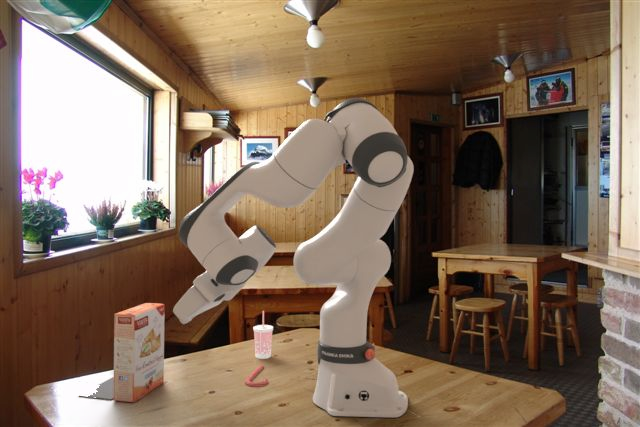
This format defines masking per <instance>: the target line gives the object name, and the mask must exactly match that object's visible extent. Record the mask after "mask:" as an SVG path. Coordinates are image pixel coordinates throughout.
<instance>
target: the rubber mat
mask: <svg viewBox="0 0 640 427" xmlns="http://www.w3.org/2000/svg"><path fill="white" fill-rule="evenodd" d="M98 385H100V386H99V388H97V389H96V390H97V391H98V392H96V394H95V393H93V395H90V396H88V397H96V398H100V399H99V400H104V399H106V401H114V376H112V377H110V378H109V379H107V380H105V381H103V382H101V383H99V384H98Z"/></svg>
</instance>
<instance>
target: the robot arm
mask: <svg viewBox="0 0 640 427" xmlns="http://www.w3.org/2000/svg"><path fill="white" fill-rule="evenodd" d="M346 160H347V162H348V164H349V165H350V166H351V167H352V169H353V172H354V173H355V174H356V176H357V178H356V180H355V182H354V183H353V185H352V188H351V190H350V193H348V196H347V198H346V200H345V202H344V204H343V206H342V208H341V209H340V211H339V212H338V213H337V215H336V216H335V217H334V218H333V219H332V220H331V222H330V223H328V224H327V225H326V226H325V227H324V228H323V229H322V230H320V232H318V233H317V234H316V235H314V236H313V237H311V238H309V239H308V240H306V241H303V242H302V243H300V244H299V245H298V247H296V248H297V249H296V250H295V252H294V254H293V255H294V256H293V261H292V262H293V269H294V272H295V274H296V276H297V278H298V279H299V280H300V281H301V282H302V283H304V284H307V285H312V286H321V287H327V286H334V285H336V286H337V287H336V289H335V291H334V293H333V294H332V296H331V297H330V298H329V299H328V300H327V301H326V302H324V303H323V305H322V307H321V308H320V311H319V339H318V343H317V348H316V349H317V351H316V352H317V353H316V354H317V364H318V370H317V377H316V383H315V384H316V385H315V389H314V393H313V395H312V402H313V403H314V404H315V405H316V406H317V407H319V408H321V409H323V410H324V411H326V412H327V414H329V415H330V416H333V417H359V418H360V417H364V418H399V417H401V416H403V415H404V414H405V413H406V412H407V410H408V406H409V400H408V396H407V394H406V393H405V392H404V391H402V390H399V384H398V380H397V378H396V375H395V374H394V372H393V371H392V370H391V369H389V368H388V367H387V366H385V365H384V364H383V363H381V362H380V361H379V360H378V359H377V358H376V357H375V355H376V354H375V352H376V350H375V342H372V343H371V342H369V341H368V340H367V326H368V325H367V323H368V311H369V306H370V301H371V298H372V295H373V293H374V290H375V288H376V287H377V285H378V283H379V282H380V280H381V279H382V278H383V277H384V276H385V275H386V274H387V273H388V271H389V270H390V267H391V263H392V255H391V251H390V248H389V246H388V245H387V243H386V242H385V241H383V240H382V239H381V238H382V237H383V236H384V235H385V234H386V233H387V231H388V229H389V227H390V225H391V224H392V222H393V220H394V218H395V216H396V214H397V213H398V211H399V209H400V207H401V205H402V203H403V202H404V199H405V197H406V195H407V193H408V189H409V187H410V184H411V182H412V178H413V175H414V168H415V167H414V163H413V161H412V160H411V158H410V157H409V156H408V152H407V147H406V145H405V143H404V140H403V139H402V138H401V137H400V136H399V135H398V132H397V131H396V129H395V127H394V126H393V124H392V123H391V122H390V121H389V119H388V118H387V117H385V116H384V115H383V113H381V112H380V110H378V108H377V107H376V105H374V103H372V102H370V101H368V100H367V99H365V98H361V97H352V98H351V97H350V98H348V99H346V100H344V101H342V102H341V103H339V104H337V106H336V107H334V108H333V109H332V110H331V111H329V112H327V114H326V115H325V116H324V119H320V118H310V119H307V120H306V121H303V123H301V124H300V125H299V126H298V127H297V128H296V129H294V130H293V131H292V132H291V134H289V136H288V137H287V138H285V139H284V141H283V142H282V143H281V144H280V145H279V147H278V148H277V149H276V150H275V151H274V153H273V154H272V155H271V156H270V157H269V158H268V159H266V160H264V161H262V162H259V161H253V162H252V161H251V162H250V163H247V164H245V165H244V166H242V167H241V168H239V169H238V170H237V171H236V172H235V173H233V174H232V175H231V176H230V177H229V178H228V179H227V180H226V181H224V183H222V185H221V186H219V187H218V188H217V189H216V190H215V191H214V192H212V194H211V195H210V196H209V197H208V198H207V199H206V200H204V201H203V202H202V203H201V204H200V205H198V206H196V207H195V208H194V209H192V210H191V211H190V212H188V213H187V214H186V215H185V216H184V217H183V218H182V219H181V222H180V225H179V228H178V239H179V240H180V242H182V243H183V245H184V246H185V247H186V248H187V249H188V250H189V251H190V252H191V253H192V255H193V256H194V257H195V258H196V259H197V261H198V262H199V263H200V265H201V266H202V268H204V269H205V272H203V273H201V274H200V275H198V276H197V277H196V278H194V280H193V281H192V284H193V285H192V286H190V288H188V289H187V291H186V292H185V293H184V294H183V295H182V296H181V298H180V299H179V300H178V301H177V302H176V304H174V306H173V310H172V313H173V314H174V315H175V316H176V317H177V318H178V320H179V322H180V323H181V324H182V325H185V324H187V323H190V322H191V321H192V320H193V319H194V318H196V317H197V316H198V315H200V314H202V313H204V312H206V311H208V310H210V309H212V308H215V307H217V306H218V305H220V304H222V302H223V301H226V302H227V301H228V302H229V301H231V300H232V299H233V298H234V297H235V296H236V295H237V294H238V293H239V292H240V291H241V290H242V289H243V288H244V287H245V285H247V282H248V281H249V280H250V279H251V278H252V277H254V276H256V275H257V274H259V271H261V270H262V268H263V267H264V266H265V265H266V264H267V263H268V261H269V260H270V259H271V258H272V257H273V255H274V253H275V252H276V250H277V245H276V243H275V242H274V240H273V239H272V237H271V236H270V235H269V234H268V232H266V231H265V230H264V229H263V228H262V227H261V226H259V225H253V226H252V227H251V228H249V229H248V230H246V231H245V232H244V233H243V234H242V235H241V236H239V237H238V236H237V235H236V234H235V233H234V232H233V231H232V229H231V227H229V226H228V224H227V222H226V219H225V215H226V213H227V212H228V211H229V210H231V209H232V208H233V207H235V205H236V204H237V203H238V202H240V201H241V200H242V199H243V198H245V196H247V195H250V196H252V197H254V198H257V199H259V200H260V201H263V202H264V203H266V204H269V205H271V206H275V207H276V208H277V207H278V208H283V209H291V208H296V207H299V206H301V205H303V204H304V203H305V202H307V201H308V200H309V199H310V198H311V197H312V196H313V195H314V194H315V193H316V192H317V190H318V189H319V188H320V186H321V185H322V184H323V183H324V182H325V180H326V178H327V177H328V176H329V175H330V173H331V172H332V171H333V170H334V169H336V168H337V167H339V166H342V165H343V164H346Z"/></svg>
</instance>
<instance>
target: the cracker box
mask: <svg viewBox="0 0 640 427" xmlns="http://www.w3.org/2000/svg"><path fill="white" fill-rule="evenodd" d="M165 307H166V305H165V304H164V303H160V302H159V303H158V302H157V303H156V302H154V303H153V302H145V303H142V304H138V305H136V306H134V307H133V306H132V307H130V308H128V309H125V310H122V311H119V312H117V313H114V314H113V315H114V318H113V320H114V323H113V324H114V327H113V338H114V339H113V377H114V399H113V401H115V402H123V403H124V402H125V403H136V402H137V401H138V400H140V399H141V398H143V397H145V396H146V395H147V394H149V393H150V392H152V391H154V390H155V389H156V388H158V387H160V386H161V385H162V384H164V374H165V373H164V368H165V363H164V362H165V315H166V314H165V310H166V308H165Z"/></svg>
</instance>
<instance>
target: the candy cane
mask: <svg viewBox="0 0 640 427" xmlns="http://www.w3.org/2000/svg"><path fill="white" fill-rule="evenodd" d="M264 368H265V366H264V365H263V364H260V365H259V366H258V367H257V368H256V369H255V370H254V371H253V372H252V373H251V374H250V375H249V376H248V377H247V378H246V379H245V381H244V385H246V386H247V387H250V388H251V387H252V388H258V387H263V386H267V385H268V383H269V380H268V379H267V378H264V379H262V381H258V382H255V381H253V380H254V379H255V378H256V377H257V376H258V374H260V372H262V370H263V369H264Z"/></svg>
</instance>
